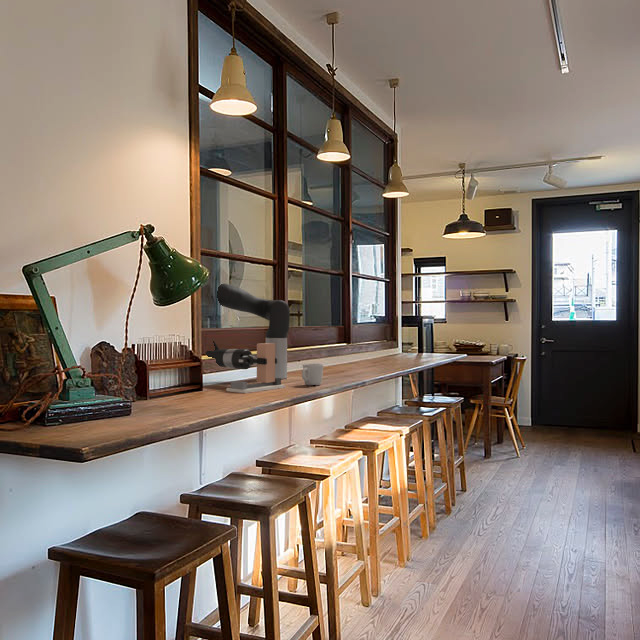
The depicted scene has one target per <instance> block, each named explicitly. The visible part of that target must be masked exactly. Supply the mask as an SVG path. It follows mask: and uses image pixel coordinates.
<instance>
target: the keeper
mask: <svg viewBox="0 0 640 640" xmlns="http://www.w3.org/2000/svg"><path fill="white" fill-rule="evenodd" d="M256 354H257V358H266V359H267V364H266V365H264V364H257V365H256V383H269V382H275V344H274V343H266V342H264V343H263V342H262V343H257V344H256Z"/></svg>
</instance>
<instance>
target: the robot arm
mask: <svg viewBox="0 0 640 640" xmlns="http://www.w3.org/2000/svg"><path fill="white" fill-rule="evenodd" d="M217 298H218V301H219V303H220V305H219V306H221V305H222V306H221V307H223V308H224V307H225V308H228V309H231V310H235V311H239V312H244V313H249V314H253V315H256V316H258V317H261V318H262V319H265V320H267V321H269V322H268V323H269V324H268V329H267V330H266V331H265V343H274V344H275V378H281V380H284V379H287V378H288V334H289V330H290V318H291V316H290V315H291V312H290V306H289V304H288V303H287V302H286V301H284V300H282V299H281V300H280V299H275V300H272V299H266V298H261V297H258V296H256V295H253V294H252V293H250V292H248V291H246V290H244V289H242V288H240V287H238V286H235V285H231V284H228V283H223V284H221V285H220V286H219V287H218V291H217ZM213 343H214V346H215V350H214V351H207V352H206V355H207V356H208V357H212V358H215V359H216V363H217V364H218V365H219V366H220V367H221V368H230V369H237V370H248V369H250V368H251V367H252V366H257V364H264V365H266V364H267V359H266V358H257V353H256V354H255V353H254V354H253V353H252V351H250V350H249V349H247V348H245V349H244V348H243V349H242V348H230V349H229V348H220V347H219V346H218V345H217V343H216V342H215V340H214V341H213ZM220 367H219V368H220Z"/></svg>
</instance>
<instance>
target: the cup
mask: <svg viewBox="0 0 640 640" xmlns="http://www.w3.org/2000/svg"><path fill="white" fill-rule="evenodd" d="M323 371H324V364H323V363H303V364H302V370H301V377H302V380H303V383H304V385H306V386H311V385H316V386H320V385H321V384H322V382H323Z"/></svg>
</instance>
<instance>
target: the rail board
mask: <svg viewBox="0 0 640 640" xmlns="http://www.w3.org/2000/svg"><path fill="white" fill-rule="evenodd" d="M278 388H279V389H284V388H286V385H285V384H282V379H281V378H275V382H269V383H262V382H256V383H248V382H247V381H241V380H231V381H230V387H227V388H226V392H232V393H240V394H241V393H242V394H248V393H257V392H263V391H270V390H272V391H273V390H278Z"/></svg>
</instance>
